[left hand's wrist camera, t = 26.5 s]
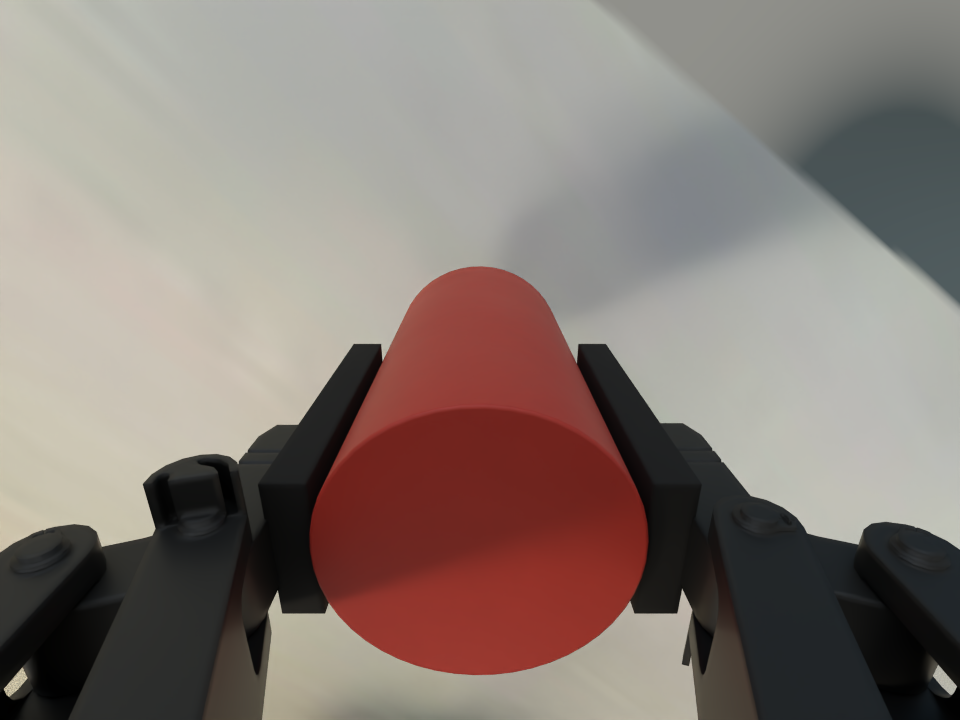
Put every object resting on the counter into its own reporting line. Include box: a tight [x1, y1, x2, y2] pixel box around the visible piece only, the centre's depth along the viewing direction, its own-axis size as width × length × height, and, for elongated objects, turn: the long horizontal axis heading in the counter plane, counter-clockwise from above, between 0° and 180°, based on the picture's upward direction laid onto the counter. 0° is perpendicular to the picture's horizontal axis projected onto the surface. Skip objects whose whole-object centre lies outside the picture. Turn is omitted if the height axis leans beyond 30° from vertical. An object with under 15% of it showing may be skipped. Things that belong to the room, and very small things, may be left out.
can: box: [309, 267, 649, 675], centre depth 13 cm, size 6×6×10 cm
